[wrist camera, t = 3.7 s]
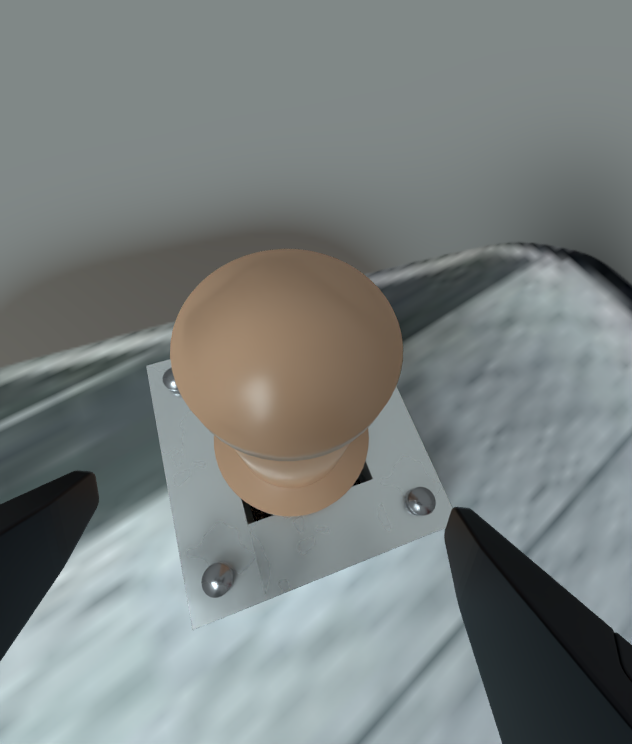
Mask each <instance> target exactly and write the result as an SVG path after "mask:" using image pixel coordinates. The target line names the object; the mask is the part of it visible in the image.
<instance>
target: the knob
mask: <svg viewBox="0 0 632 744" xmlns="http://www.w3.org/2000/svg"><path fill="white" fill-rule="evenodd" d="M170 359H171V367H172V372H173V376H174V379H175V383H176V385H177V388H178V390H179V392H180V394H181V396H182V398H183V400H184V401H185V403H186V404H187V406H188V407H189V409H190V410H191V411H192V412H193V413H194V415H195V416H196V417H197V418H198V419H199V420H200V421H201V422H202V423H203V425H204V426H205V427H206V428H207V429H208V430H209V431H210V432H211V433H212V434H213V435H214V451H215V457H216V461H217V464H218V467H219V469H220V472H221V474H222V476H223V478H224V479H225V481H226V482H227V484H228V485H229V487H230V488H231V489H232V490H233V491H234V492H235V494H236V495H238V496H239V497H240V498H241V499H242V500H243V501H245V502H246V503H248V504H250V505H251V506H253V507H255V508H257V509H259V510H261V511H263V512H266V513H269V514H273V515H277V516H285V517H297V516H303V515H308V514H312V513H315V512H318V511H320V510H322V509H324V508H326V507H328V506H330V505H331V504H333V503H334V502H336V501H337V500H339V499H340V498H341V497H342V496H343V495H345V494H346V492H347V491H348V490H349V489H350V488H351V487H352V486H353V484H354V483H355V481H356V480H357V478H358V477H359V475H360V473H361V471H362V469H363V466H364V463H365V461H366V457H367V452H368V445H369V432H368V427H369V426H370V425H371V424H372V423H373V422H374V420H375V419H376V418H377V416H378V415H379V414H380V412H381V411H382V410H383V408H384V407H385V405H386V404H387V403H388V401H389V400H390V398H391V396H392V394H393V392H394V390H395V388H396V385H397V382H398V379H399V376H400V373H401V367H402V362H403V342H402V334H401V330H400V327H399V323H398V320H397V318H396V315H395V313H394V310H393V309H392V307H391V305H390V303H389V302H388V300H387V298H386V297H385V296H384V294H383V293H382V292H381V291H380V289H379V288H378V287H377V286H376V285H375V284H374V283H373V282H372V281H371V280H370V279H369V278H367V277H366V276H365V275H364V274H362V273H361V272H360V271H358V270H357V269H355V268H354V267H352V266H350V265H349V264H347V263H345V262H342V261H341V260H339V259H336V258H334V257H331V256H328V255H325V254H321V253H317V252H313V251H307V250H300V249H276V250H267V251H261V252H257V253H253V254H249V255H246V256H243V257H241V258H238V259H236V260H234V261H231V262H229V263H228V264H226V265H224V266H222V267H220V268H219V269H217V270H216V271H214V272H213V273H212V274H210V275H209V276H208V277H207V278H205V279H204V280H203V281H202V282H201V283H200V284H199V285H198V286H197V287H196V288H195V289H194V290H193V292H192V293H191V294H190V295H189V297H188V298H187V300H186V301H185V303H184V304H183V306H182V308H181V310H180V312H179V314H178V316H177V319H176V322H175V325H174V328H173V332H172V338H171V347H170Z"/></svg>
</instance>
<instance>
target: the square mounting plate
mask: <svg viewBox="0 0 632 744" xmlns="http://www.w3.org/2000/svg"><path fill="white" fill-rule="evenodd" d="M146 367H147V373H148V378H149V384H150V390H151V395H152V401H153V407H154V413H155V418H156V424H157V430H158V436H159V441H160V447H161V453H162V458H163V464H164V470H165V476H166V481H167V487H168V493H169V498H170V504H171V510H172V516H173V521H174V527H175V533H176V538H177V544H178V550H179V556H180V561H181V567H182V573H183V579H184V584H185V590H186V596H187V601H188V607H189V613H190V619H191V624H192V630H195V629H197V628H200V627H202V626H205V625H207V624H210V623H212V622H214V621H217V620H219V619H222V618H224V617H227V616H229V615H232V614H234V613H237V612H239V611H242V610H244V609H247V608H249V607H251V606H254V605H256V604H259V603H261V602H264V601H266V600H269V599H271V598H274V597H276V596H279V595H281V594H283V593H286V592H288V591H291V590H293V589H296V588H298V587H301V586H303V585H306V584H308V583H311V582H313V581H316V580H318V579H320V578H323V577H325V576H328V575H330V574H333V573H335V572H338V571H340V570H343V569H345V568H348V567H350V566H352V565H355V564H357V563H360V562H362V561H365V560H367V559H370V558H372V557H375V556H377V555H380V554H382V553H385V552H387V551H389V550H392V549H394V548H397V547H399V546H402V545H404V544H407V543H409V542H412V541H414V540H417V539H419V538H421V537H424V536H426V535H429V534H431V533H434V532H436V531H439V530H441V529H444V528H446V526H447V522H448V519H449V516H450V513H451V510H452V509H453V508H452V506H451V503H450V501H449V499H448V497H447V495H446V493H445V490H444V488H443V486H442V484H441V482H440V480H439V477H438V475H437V473H436V471H435V469H434V467H433V464H432V462H431V460H430V458H429V456H428V454H427V451H426V449H425V447H424V445H423V443H422V440H421V438H420V436H419V434H418V432H417V430H416V427H415V425H414V423H413V421H412V419H411V417H410V414H409V412H408V410H407V408H406V406H405V404H404V401H403V399H402V397H401V395H400V393H399V391H398V388H397V386H396V388H395V390H394V392H393V394H392V396H391V398H390V400H389V401H388V403H387V404H386V405H385V407H384V408H383V410H382V411H381V412H380V414H379V415H378V416H377V418H376V419H375V420H374V422H373V423H372V424H371V425H370V426H369V427H368V432H369V445H368V452H367V457H366V461H365V463H364V466H363V469H362V471H361V473H360V475H359V479H360V482H361V484H358V485H355V486H353V487H351V488H350V489H349V490H348V491H347V492H346V494H345V495H343V496H342V497H341V498H340V499H339V500H337V501H336V502H334V503H333V504H331V505H330V506H328V507H326V508H324V509H322V510H320V511H318V512H315V513H312V514H308V515H303V516H297V517H285V516H277V515H273V516H270V517H267V518H265V519H262V520H259V521H256V522H254V519H253V515H252V511H251V507H250V504H248V503H246V502H245V501H243V500H242V499H241V498H240V497H239V496H238V495H236V494H235V492H234V491H233V490H232V489H231V488H230V487H229V485H228V484H227V482H226V481H225V479H224V478H223V476H222V474H221V472H220V469H219V467H218V464H217V461H216V457H215V451H214V435H213V434H212V433H211V432H210V431H209V430H208V429H207V428H206V427H205V426H204V425H203V423H202V422H201V421H200V420H199V419H198V418H197V417H196V416H195V415H194V413H193V412H192V411H191V410H190V409H189V407H188V406H187V404H186V403H185V401H184V400H183V398H182V396H181V394H180V392H179V390H178V388H177V385H176V383H175V379H174V376H173V372H172V367H171V359H170V360H166V361H163V362H159V363H155V364H152V365H148V366H146Z"/></svg>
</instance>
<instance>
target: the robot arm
mask: <svg viewBox="0 0 632 744" xmlns="http://www.w3.org/2000/svg"><path fill="white" fill-rule="evenodd" d="M98 503H99V494H98V488H97V482H96V477H95V474H94V473H93V472H90V471H80V470H77V471H73V472H71V473H69V474H66V475H64V476H62V477H60V478H57V479H55V480H53V481H51V482H49V483H46V484H44V485H42V486H40V487H38V488H35V489H33V490H31V491H29V492H27V493H24V494H22V495H20V496H18V497H15V498H13V499H11V500H9V501H7V502H4V503H2V504H0V661H1V660H2V658H3V657H4V655H5V654H6V652H7V651H8V649H9V648H10V646H11V645H12V643H13V642H14V640H15V639H16V637H17V636H18V634H19V633H20V632H21V630H22V629H23V627H24V626H25V624H26V623H27V621H28V620H29V618H30V617H31V615H32V614H33V612H34V611H35V609H36V608H37V606H38V605H39V604H40V602H41V601H42V599H43V598H44V596H45V595H46V593H47V592H48V590H49V589H50V587H51V586H52V584H53V583H54V581H55V580H56V578H57V577H58V575H59V574H60V572H61V571H62V569H63V568H64V566H65V564H66V563H67V561H68V559H69V557H70V556H71V554H72V552H73V550H74V548H75V547H76V545H77V543H78V541H79V539H80V538H81V536H82V534H83V532H84V530H85V528H86V527H87V525H88V523H89V521H90V519H91V518H92V516H93V514H94V512H95V510H96V508H97V506H98ZM444 538H445V545H446V549H447V554H448V559H449V563H450V568H451V573H452V578H453V582H454V587H455V592H456V596H457V601H458V605H459V608H460V612H461V615H462V618H463V621H464V624H465V628H466V631H467V634H468V637H469V640H470V643H471V646H472V650H473V653H474V656H475V659H476V662H477V665H478V669H479V672H480V675H481V678H482V681H483V684H484V687H485V691H486V694H487V697H488V700H489V703H490V706H491V709H492V713H493V716H494V719H495V722H496V725H497V728H498V731H499V735H500V738H501V741H502V744H632V645H631V644H630V643H629V642H628V641H626V640H625V639H624V638H623V637H622V636H620V635H619V634H618V633H614V631H613V629H612V628H611V627H610V626H608V625H607V624H606V623H605V622H604V621H603V620H601V619H600V618H599V617H598V616H597V615H595V614H594V613H593V612H592V611H591V610H590V609H588V608H587V607H586V606H585V605H584V604H583V603H581V602H580V601H579V600H578V599H577V598H575V597H574V596H573V595H572V594H571V593H570V592H568V591H567V590H566V589H565V588H564V587H562V586H561V585H560V584H559V583H558V582H557V581H555V580H554V579H553V578H552V577H551V576H549V575H548V574H547V573H546V572H545V571H544V570H542V569H541V568H540V567H539V566H538V565H536V564H535V563H534V562H533V561H532V560H531V559H529V558H528V557H527V556H526V555H525V554H524V553H522V552H521V551H520V550H519V549H518V548H516V547H515V546H514V545H513V544H512V543H511V542H509V541H508V540H507V539H506V538H505V537H503V536H502V535H501V534H500V533H499V532H498V531H496V530H495V529H494V528H493V527H492V526H490V525H489V524H488V523H487V522H486V521H485V520H483V519H482V518H481V517H480V516H479V515H478V514H476V513H475V512H474V511H473V510H471V509H470V508H463V507H454V508H453V509H452V510H451V513H450V516H449V519H448V522H447V526H446V529H445V534H444Z"/></svg>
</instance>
